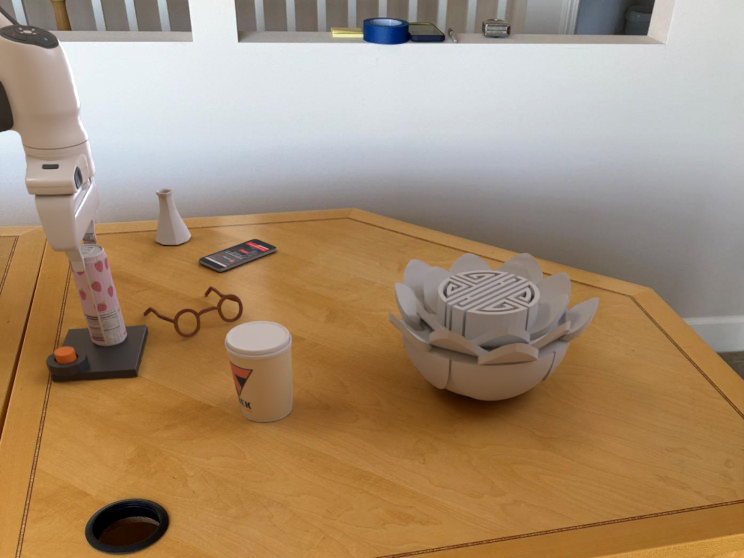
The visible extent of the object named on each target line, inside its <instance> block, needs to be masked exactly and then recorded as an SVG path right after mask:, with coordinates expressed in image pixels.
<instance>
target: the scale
mask: <svg viewBox="0 0 744 558" xmlns="http://www.w3.org/2000/svg"><path fill="white" fill-rule="evenodd" d="M125 329H126V332H127V336H126V338H125V339H124V341H122V342H121V343H119V344H116V345H112V346H100V345H97V344H96V343H94V342H93V341H92V340H91V336H90V333H89V329H88V327H81V328H68V330H67V332H66V336H65V338H64V340H63V342H62V345H61V347H66V346H68V347H72V348H74V350H75V354H76V357H77V359H76V360H75V361H73V362H70V363H65V364H60V363H58V362H57V360H56V357H55V354H54V352H52V353H51V354H49V355H48V356H47V358H46V360H45V363H46V366H47V369H48V371H49V372H50V377H51V381H52V382H53V383H54V382H56V383H57V382H71V381H85V380H86V381H88V380H105V379H123V378H125V379H126V378H137V377H138V375H139V371H140V367H141V363H142V359H143V355H144V351H145V347H146V343H147V338H148V335H149V329H148V325H147V324H141V325H125Z"/></svg>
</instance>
